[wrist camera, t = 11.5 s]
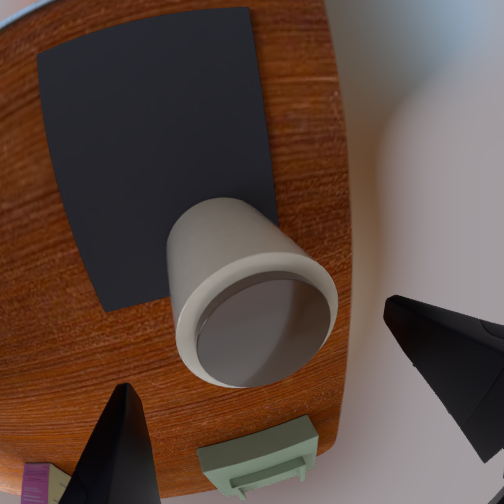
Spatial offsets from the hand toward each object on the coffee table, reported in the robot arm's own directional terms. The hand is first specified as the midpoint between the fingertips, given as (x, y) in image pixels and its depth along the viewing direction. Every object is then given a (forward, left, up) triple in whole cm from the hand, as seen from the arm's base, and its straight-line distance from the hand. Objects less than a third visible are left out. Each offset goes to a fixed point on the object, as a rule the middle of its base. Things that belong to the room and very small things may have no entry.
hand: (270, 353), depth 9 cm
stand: (+1, +26, -9) cm, 28 cm away
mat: (+2, -5, -9) cm, 10 cm away
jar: (0, 0, -8) cm, 8 cm away
